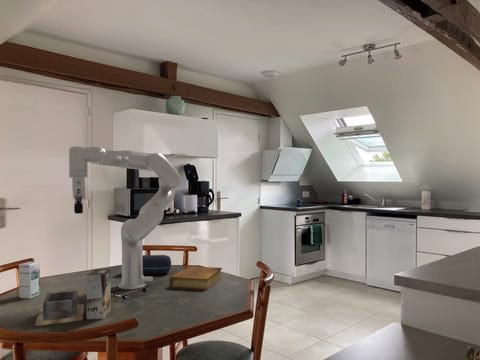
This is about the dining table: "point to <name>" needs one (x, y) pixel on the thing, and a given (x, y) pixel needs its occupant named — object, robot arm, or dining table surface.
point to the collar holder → (60, 308)
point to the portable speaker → (156, 264)
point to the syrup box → (29, 280)
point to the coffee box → (98, 293)
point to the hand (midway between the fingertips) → (78, 212)
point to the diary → (195, 278)
